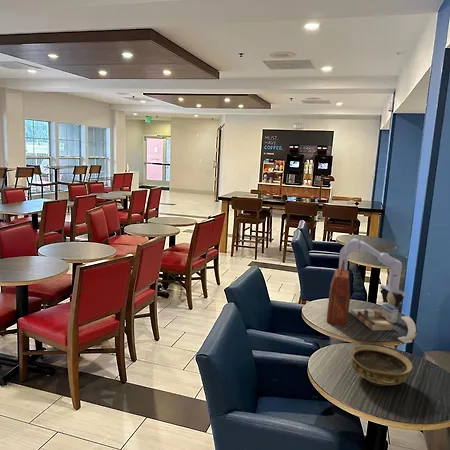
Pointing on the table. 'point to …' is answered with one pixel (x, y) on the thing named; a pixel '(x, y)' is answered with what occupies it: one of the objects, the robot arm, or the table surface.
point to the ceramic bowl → (380, 364)
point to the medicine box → (390, 312)
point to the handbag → (339, 298)
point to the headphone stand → (411, 330)
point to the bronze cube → (377, 313)
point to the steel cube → (369, 313)
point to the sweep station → (373, 321)
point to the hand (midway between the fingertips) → (390, 304)
